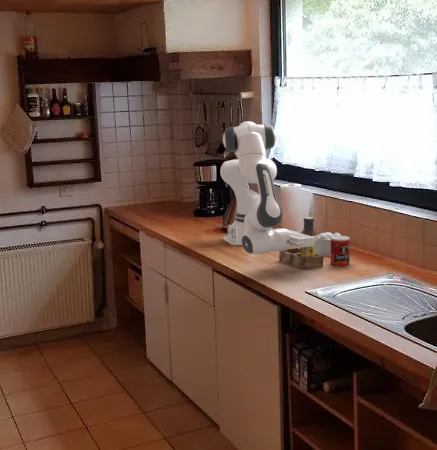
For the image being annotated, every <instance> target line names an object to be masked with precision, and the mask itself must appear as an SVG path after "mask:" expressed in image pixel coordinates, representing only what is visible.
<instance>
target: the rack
mask: <svg viewBox="0 0 437 450" xmlns="http://www.w3.org/2000/svg"><path fill="white" fill-rule="evenodd" d="M278 253H279V255H278V256H279V260H278V261H279V262H282V263H285V264H288V265H291V266H293V267H296V268H299V269H301V270H304V271H306V270H311V269H317V268H318V269H319V268H323V267H324V255H320V254H317V253H315V257H309V258H303V257H300V247H292V248H289V249H288V250H286V251H279V252H278Z"/></svg>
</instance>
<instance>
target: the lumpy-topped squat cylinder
mask: <svg viewBox="0 0 437 450" xmlns="http://www.w3.org/2000/svg"><path fill="white" fill-rule="evenodd" d="M316 236H318V240H317V241H316V254H319V255H322V256H323V257H325V256H326V257H331V237H332V236H342V235H341V233H339V232H334V233H332V232H330V231H329V232H328V231H327V232H322V233H319V234H317V235H316Z"/></svg>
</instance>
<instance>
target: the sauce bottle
mask: <svg viewBox="0 0 437 450" xmlns="http://www.w3.org/2000/svg"><path fill="white" fill-rule="evenodd" d="M314 221H315V218H314V217H312V216H305V217H303V229H302V234H305V235H309V236H315V235H316V232H315V230H314ZM316 236H317V235H316ZM299 248H300V257H303V258H309V257H315V253H316V241H314V246H311V247H299ZM316 254H317V253H316Z"/></svg>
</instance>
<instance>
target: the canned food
mask: <svg viewBox="0 0 437 450" xmlns="http://www.w3.org/2000/svg"><path fill="white" fill-rule="evenodd" d="M350 245H351V239H350V236H348V235H347V236H346V235H341V236H332V237H331V256H330V264H331V265H332V266H335V267H346V266H349V264H350V258H351V257H350V254H351V253H350V252H351V251H350V250H351V249H350V248H351V246H350Z"/></svg>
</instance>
